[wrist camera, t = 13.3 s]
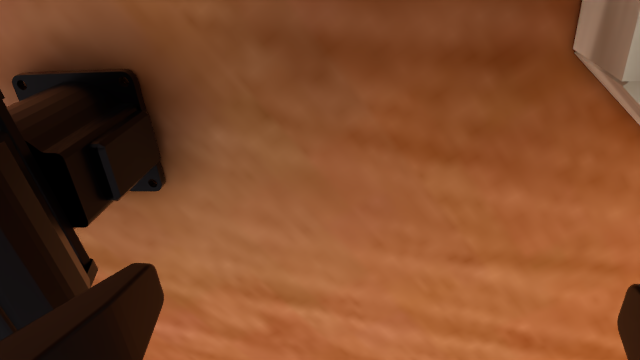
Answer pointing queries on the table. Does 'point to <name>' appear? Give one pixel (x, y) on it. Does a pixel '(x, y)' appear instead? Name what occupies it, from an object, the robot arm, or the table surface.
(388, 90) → the table surface
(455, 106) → the table surface
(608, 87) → the cream octagonal ring
